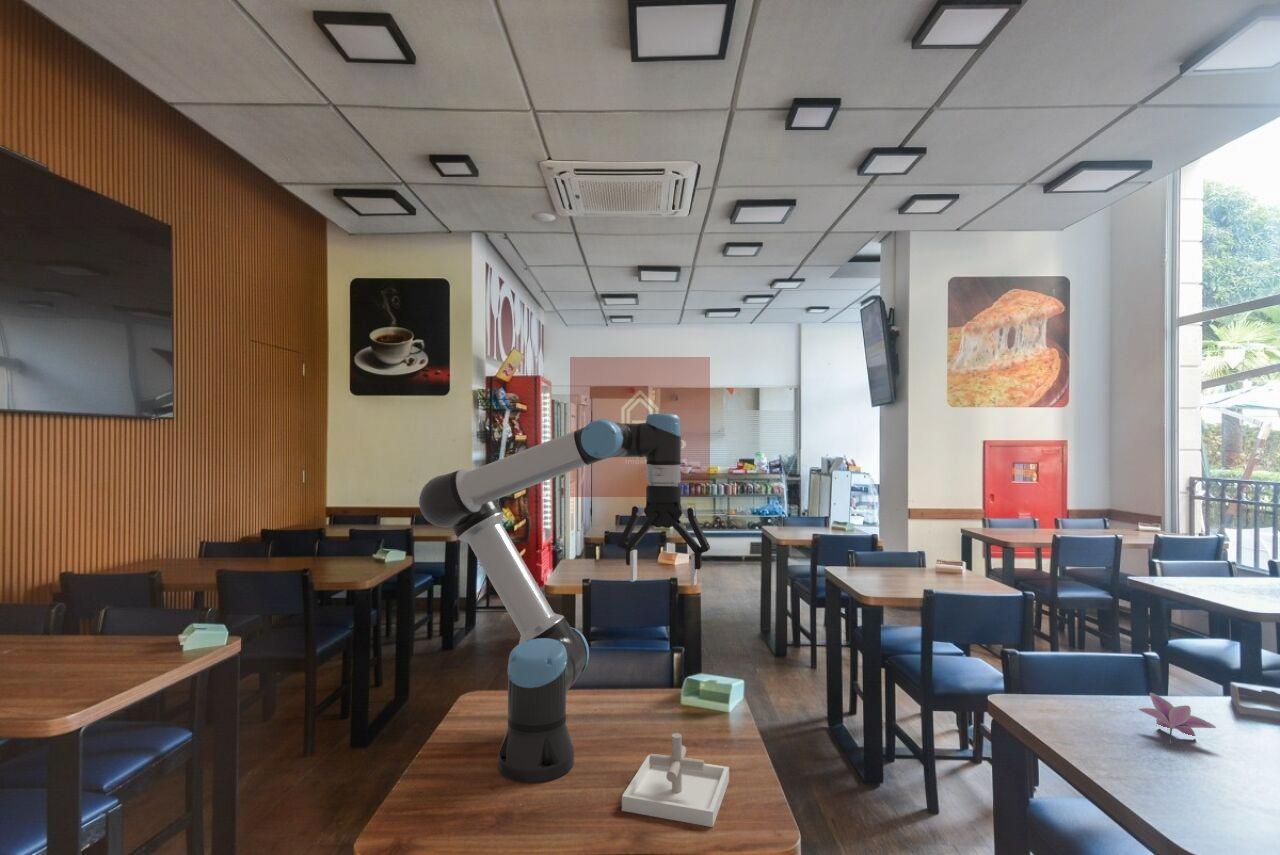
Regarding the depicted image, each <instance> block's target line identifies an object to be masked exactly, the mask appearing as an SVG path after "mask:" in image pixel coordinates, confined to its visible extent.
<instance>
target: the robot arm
mask: <svg viewBox="0 0 1280 855" xmlns="http://www.w3.org/2000/svg"><path fill="white" fill-rule="evenodd" d="M681 444H682V434H681V418H680V417H679V416H678V415H677V414H673V413H650V414H647V416H646V420H645V422H640V423H627V422H626V423H625V422H624V423H622V422H621V423H619V422H615V421H612V420H610V419H603V418H601V419H596V420H592V421H590V422H589V423H587V425H585V426H584V427H582V428H579V429H576V430H574V431H571V432H568V433H566V434H563V435H561V436H558V437H555V438H552V439H550V440H548V441H545V442H542V443H539V444H537V445H534V446H532V447H528V448H526V449H524V450H521V451H519V452H516V453H514V454H511V455H509V456H506V457H503V458H500V459H498V460H496V461H493V462H489V463H488V464H484V465H483V466H479V467H477V468H475V469H471V470H468V469H466V468H461V469H458V470H456V471H452V472H450V473H447V474H446V473H445V474H441V475H437V476H435V477H432V478H431V479H430V480H429V481H428V482H426V484H425V485H424V486H423V487H422V489H421V491H420V494H419V498H418V505H419V509H420V512H421V515H422V516H423V517H424V519H425V520H426V521H427V522H428V523H430V524H432V525H433V526H435V527H438V528H443V529H444V528H447V529H449V528H451V529H452V531H453V533H454V534H455V535H456V538H457V539H458V541H461V542H465V543H468V545H469V547H470V549H471V551H473V553H474V555H475V557H476V558H477V560H478V562H479V564H480V566H481V567H482V570H483V571H484V573H485V574H486V576H487V577H488V580H489V582H490V584H491V585H492V586H493V588H494V590H495V592H496V593H497V595H498V597H499V599H500V600H501V602H502V604H503V606H504V608H505V609H506V611H507V613H508V614H509V616H510V618H511V620H512V622H513V624H514V625H515V626H516V629H517V630H518V631H519V633H520V634H519V635H520V638H519V642H518V644H517V645H516V646H514V647H513V649H511V651H510V653H509V655H508V656H509V657H508V664H507V670H506V672H507V728H506V731H505V733H504V737H503V740H502V743H501V746H500V749H499V752H498V755H497V756H498V757H497V759H498V761H497V762H498V763H497V764H498V766H497V769H498V772H499V773H500V774H501V775H502V776H504V778H506V779H508V780H512V781H515V782H521V783H541V782H547V781H551V780H554V779H557V778H560V777H562V776H564V775H565V774H567V773H569V771H571V769H572V768H573V767H574V764H575V748H574V745H573V742H572V738H571V736H570V733H569V732H570V731H569V729H568V726H567V722H566V721H567V692H568V691H569V690H570V689H571V687H572V686H573V685H574V684H575V683H576V681H578V680H579V679H580V678H581V677H582V675H583V674H584V672H585V670H586V668H587V666H588V663H589V658H590V651H589V650H590V649H589V644H588V642H587V639H586V637H585V636H584V634H583V633H581V631H580V630H578V629H577V628H574V627H571V626H570V623H569V622H568V621H567V619H566V617H565V616H564V615H562V614H559V613H556V612H554V611H553V609H552V607H551V605H550V604H549V602H548V600H547V599H546V596H545V595H544V593H543V592H542V589H541V588H540V587H539V585H538V583H537V581H536V579H535V578H534V576H533V574H532V573H531V571H530V570H529V567H528V566H527V565H526V562H525V561H524V559H523V558H522V556H521V554H520V553H519V550H518V549H517V548H516V546H515V544H514V542H513V541H512V539H511V537H510V535H509V533H508V532H507V530H506V528H505V527H504V525H503V518H504V514H505V513H504V511H503V509H502V508H501V507H500V504H499V502H500V499H501V498H504V497H506V496H508V495H511V494H514V493H517V492H520V491H522V490H524V489H528V488H531V487H534V486H535V485H539V484H541V483H543V482H546V481H550V480H552V479H554V478H557V477H560V476H562V475H565V474H567V473H570V472H573V471H576V470H578V469H581V468H583V467H585V466H586V467H587V466H589V465H592V464H595V463H598V462H600V461H604V460H606V459H610V458H646V460H645V461H646V465H645V466H646V468H645V469H646V473H645V474H646V475H645V477H646V483H647V484H648V485H647V486H646V488H645V492H646V496H645V499H646V500H645V501H646V502H645V503H646V504H645V507H643V506H640V505H638V504H637V505H634V506H632V507H631V515H630V518H629V520H628V522H627V524H626V526H625V528H624V530H623V532H622V534H621V536H620V538H619V540H618V542H617V547H618V548H620V549H622V550H623V549H624V550H625V564H626V566H629V582H630V583H631V582H632V583H634V582H635V581H637V580H638V550H637V549H635V547H637V545H638V544H639V542H640V541H641V540H642V539H643V538H644V537H645V535H646V534H647V533H648V532H649V531H650V529H651V528H652V527H655V528H664V529H670V528H672V527H673V529H674V531H676V532H677V533H678V534H679V535H680V537H681V538H682V539H683V541H684V542H685V543H686V545H687V546H688V547H689V548H690V550H691V551H692V553H691V554H690V586H693V587H694V586H696V585H697V583H698V570H701V568H702V560H703V559H702V556H703V555H702V554H703V553H706V552H708V551H710V549H711V546H710V544H709V541H708V540H707V537H706V535H705V533H704V531H703V529H702V527H701V525H700V522H699V521H698V518H697V514H696V508H695V507H694V506H691V507H687V508H683V507H682V505H681V502H682V499H681V496H682V495H681V491H682V490H681V486H680V485H679V484H680V483H681V480H682V478H681V477H682V476H681V471H682V470H681V462H682V461H681V458H682V457H681V454H682V453H681V452H682V451H681V450H682V445H681ZM643 514H644V515H645V516H646V517H647V520H646V521H645V522H644V524H642V526H641V527H640V529H639V530H638V532H636V533H635V535H634V536H633V538H631V540H629V539H630V537H631V536H632V534H633V531H634V530H635V527H636V525H637V523H638V520H639V518H640V517H641V516H643ZM682 515H684V517H685V518H686V519H688V522H689V524H690V527H691V528H692V531H693V533H694V534H695V537H696V539H697V541H696V539H694V537H693V536H692V535H691V533H690V532H689V530H687V528H686V527H685V526H684V524H683V523H682V521H681V520H680V518H681V517H682ZM628 541H629V542H628ZM698 543H699V544H698Z"/></svg>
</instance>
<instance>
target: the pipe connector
mask: <svg viewBox="0 0 1280 855" xmlns="http://www.w3.org/2000/svg"><path fill="white" fill-rule="evenodd" d="M682 739H683V738H682V734H681V733H678V732H674V733H672V734H671V755H664V754H659V753H658V754H655V753H650V754H649V755H650V758H649V764H650V765H657V766H665V767H669V770H668V772H667V775H666V777H667V780H668V781H670V782H672V791H673V792H675V793H679V792H681V791H682V769H689V770H697V771H704V763H705V760H704V759H698V758H697V759H696V758H690V757H685V756H686V754H687V747H686V746H685V745H683V744H682V742H683V741H682Z"/></svg>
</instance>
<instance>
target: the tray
mask: <svg viewBox="0 0 1280 855" xmlns="http://www.w3.org/2000/svg"><path fill="white" fill-rule="evenodd" d="M649 758H650V754H648V755H647V757H646V758H645V760H644V762H643V763H642V764H641V766H640V767H639V769H638V771H637V772H636V773H635V776H634V777H633V778H632V780H631V781H630V783H629V784H628V786H627V787H626V789H625V791H624V792H623V794H622V796H621V811H622V812H626V813H633V814H638V815H644V816H648V817H655V818H660V819H666V820H670V821H677V822H683V823H687V824H693V825H699V826H704V827H705V826H706V827H710V828H714V825H715V823H716V819H717V817H718V814H719V811H720V809H721V804H722V802H723V799H724V796H725V793H726V791H727V789H728V788H727V787H728V784H729V781H730V767H729V766H725V765H717V764H711V763H705V762H704V771H697V770H689V769H682V791H681V792H679V793H675V792H673V791H672V782H670V781H668V780H667V777H666V775H667V772H668V770H669V767H665V766H657V765H650V764H649Z"/></svg>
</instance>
